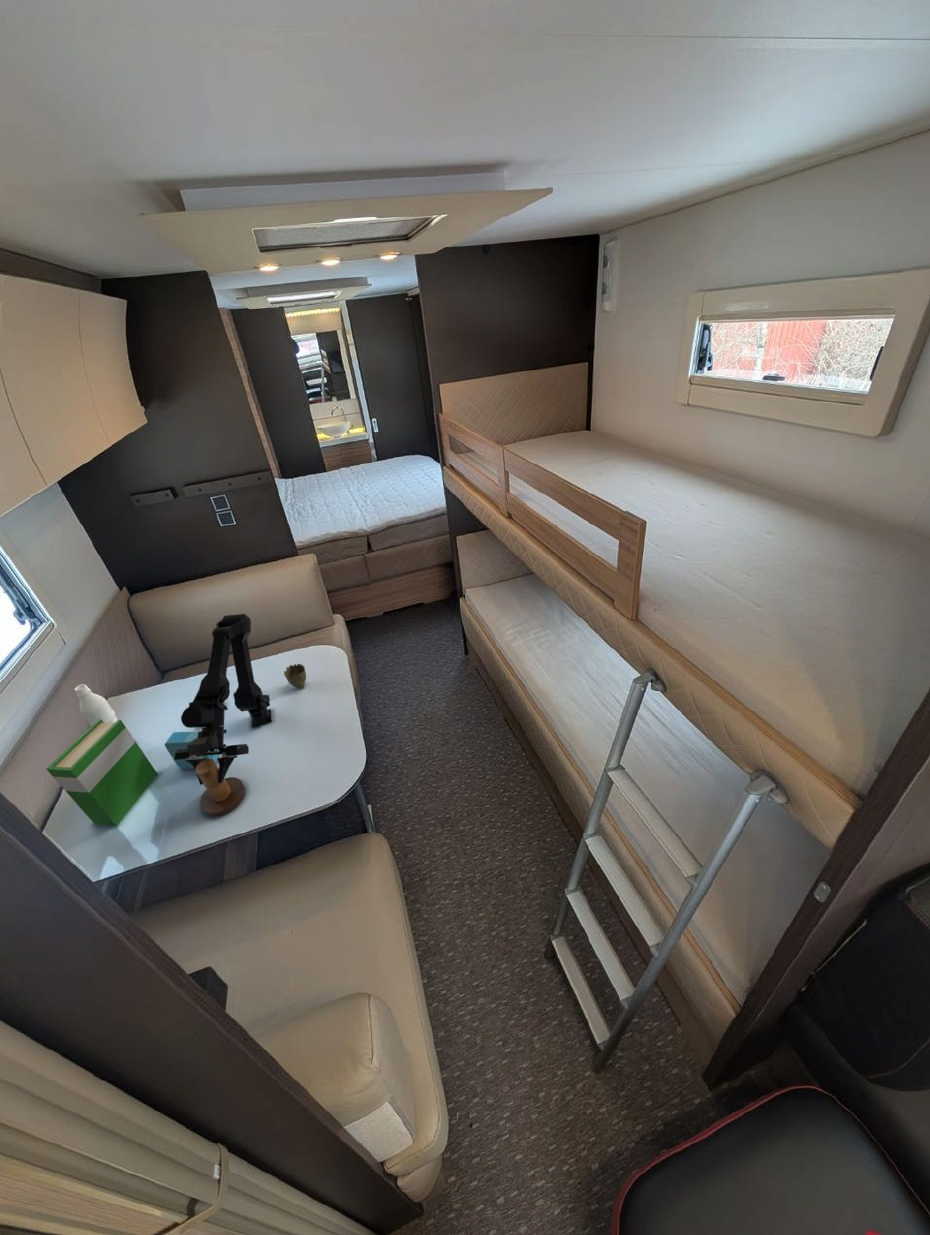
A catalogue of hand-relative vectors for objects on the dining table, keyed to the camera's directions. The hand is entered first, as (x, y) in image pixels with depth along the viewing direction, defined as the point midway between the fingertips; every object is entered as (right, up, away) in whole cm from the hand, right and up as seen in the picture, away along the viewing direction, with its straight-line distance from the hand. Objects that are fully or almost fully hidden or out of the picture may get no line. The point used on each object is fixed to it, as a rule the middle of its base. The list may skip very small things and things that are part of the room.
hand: (211, 783), depth 133 cm
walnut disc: (+1, -6, +6) cm, 9 cm away
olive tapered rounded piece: (+9, +21, +46) cm, 51 cm away
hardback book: (-30, -8, +9) cm, 32 cm away
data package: (-13, 0, +18) cm, 22 cm away
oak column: (+1, -5, +5) cm, 7 cm away
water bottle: (-47, +4, +30) cm, 56 cm away
